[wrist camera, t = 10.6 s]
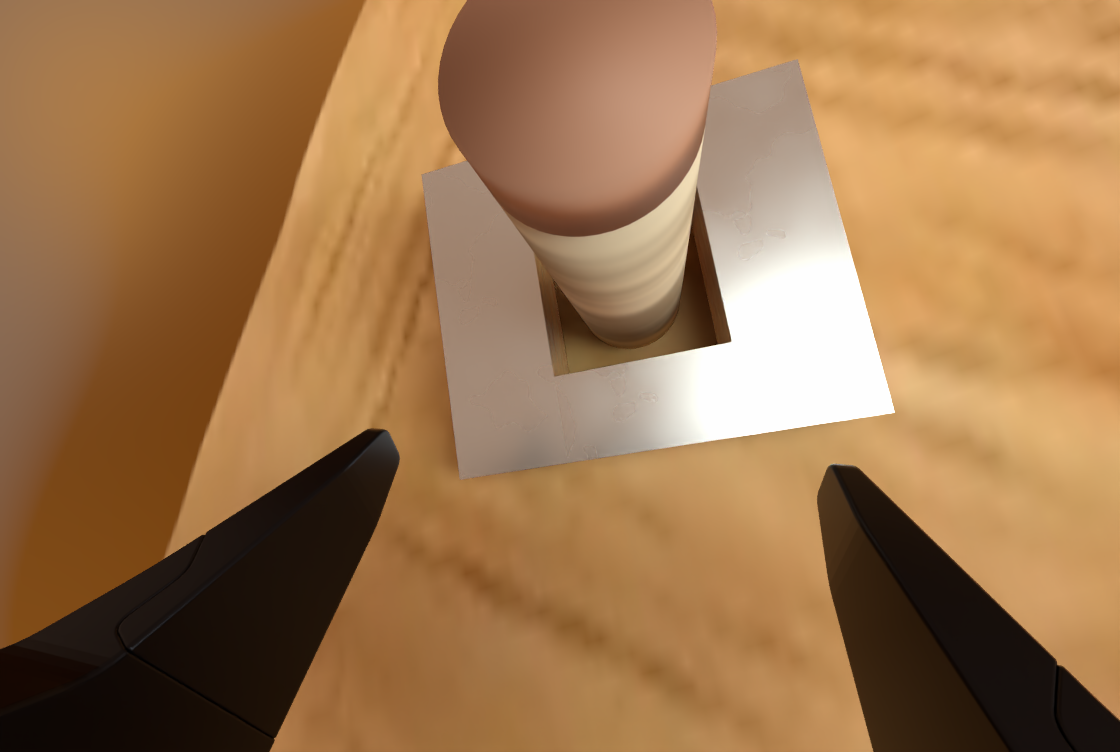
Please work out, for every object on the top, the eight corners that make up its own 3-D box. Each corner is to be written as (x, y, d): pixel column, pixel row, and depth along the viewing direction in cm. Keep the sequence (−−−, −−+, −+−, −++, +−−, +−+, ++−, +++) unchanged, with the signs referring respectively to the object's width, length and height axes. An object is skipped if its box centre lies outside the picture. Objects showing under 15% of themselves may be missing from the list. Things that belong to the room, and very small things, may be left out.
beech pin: (698, 316, 18) (779, 75, 6) (610, 366, 18) (511, 245, 6) (647, 235, 19) (621, -125, 6) (564, 286, 19) (398, 41, 7)
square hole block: (852, 415, 16) (894, 412, 13) (491, 471, 19) (459, 479, 16) (775, 118, 18) (797, 59, 15) (455, 210, 21) (421, 174, 18)
